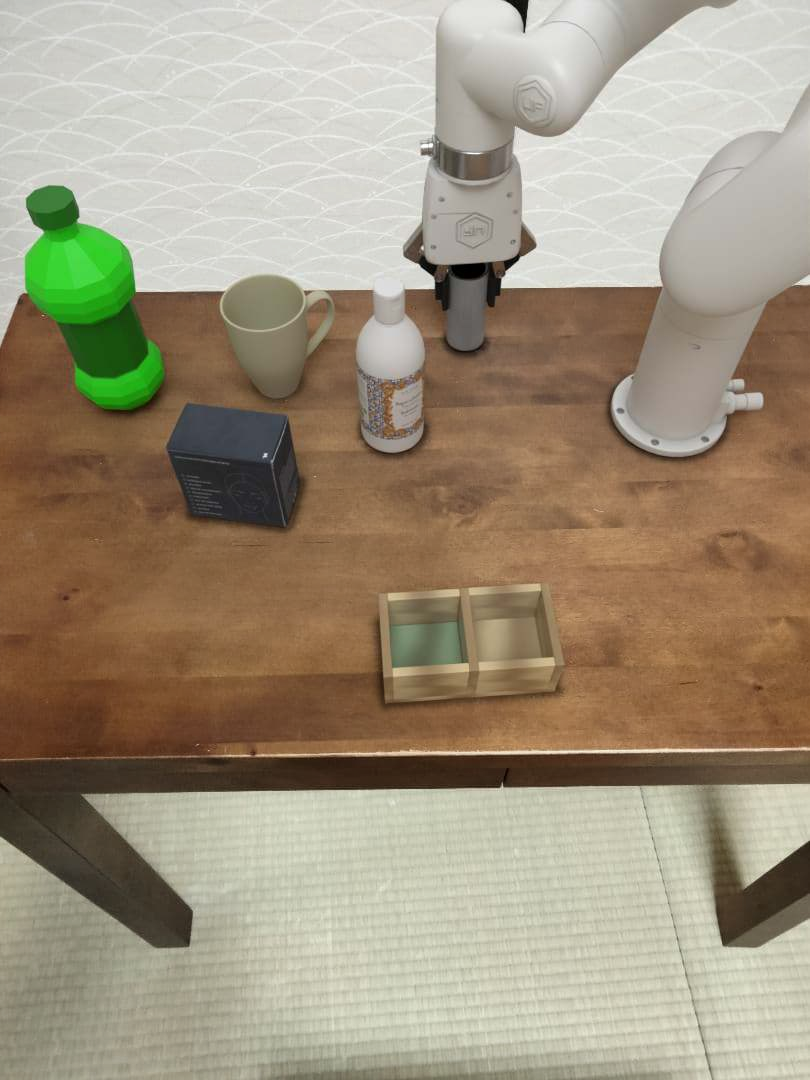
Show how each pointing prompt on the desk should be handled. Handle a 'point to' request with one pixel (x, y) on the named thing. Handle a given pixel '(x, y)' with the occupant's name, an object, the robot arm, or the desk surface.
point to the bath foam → (390, 372)
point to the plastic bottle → (91, 302)
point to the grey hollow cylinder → (467, 305)
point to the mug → (272, 329)
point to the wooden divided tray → (469, 642)
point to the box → (235, 464)
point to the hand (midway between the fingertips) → (466, 299)
